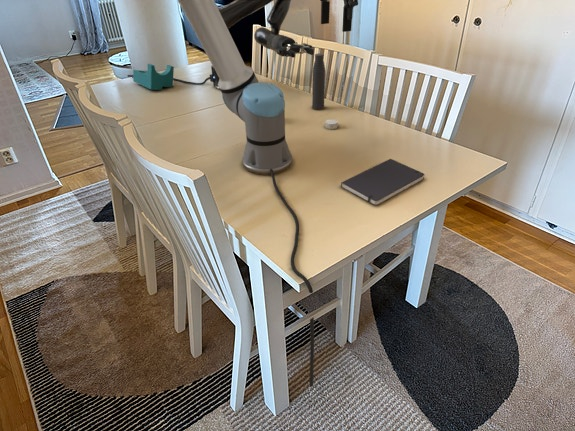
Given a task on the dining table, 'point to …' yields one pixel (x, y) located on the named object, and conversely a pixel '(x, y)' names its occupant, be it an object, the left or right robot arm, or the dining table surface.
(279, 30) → the left robot arm
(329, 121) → the cap
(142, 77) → the teal notched cradle block
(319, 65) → the bottle
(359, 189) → the notebook
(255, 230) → the dining table surface
